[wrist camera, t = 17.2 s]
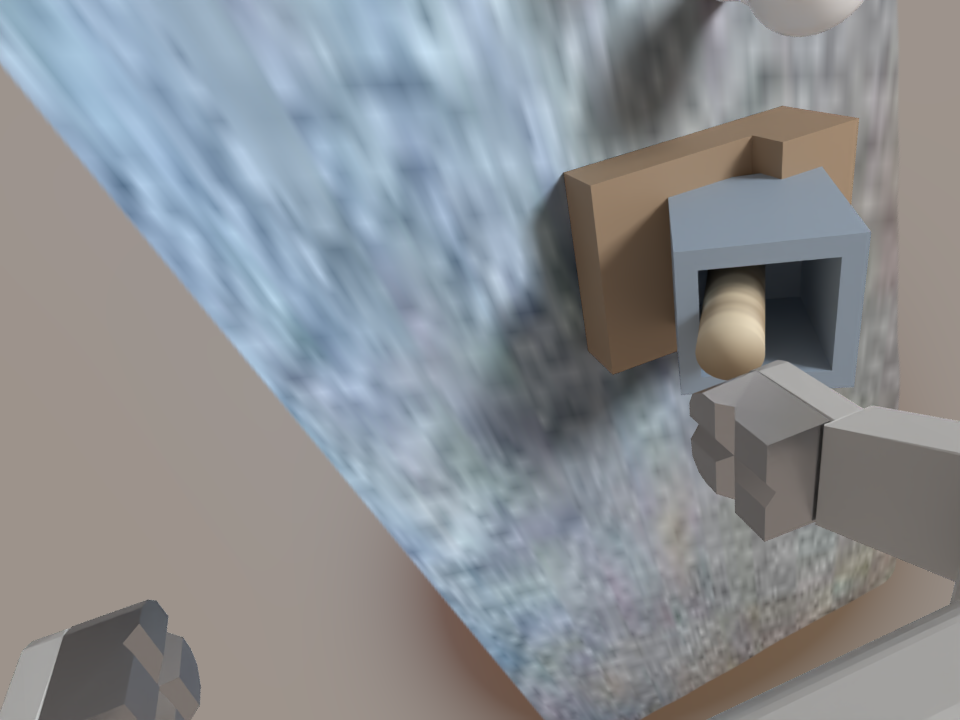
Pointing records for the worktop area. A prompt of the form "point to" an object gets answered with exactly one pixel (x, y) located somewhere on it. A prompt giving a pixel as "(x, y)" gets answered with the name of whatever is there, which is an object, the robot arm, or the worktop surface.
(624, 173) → the socket
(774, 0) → the lightbulb
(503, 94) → the worktop surface
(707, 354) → the peg
